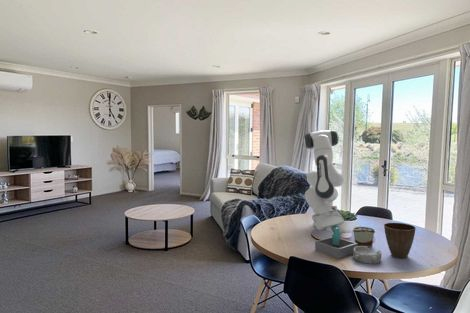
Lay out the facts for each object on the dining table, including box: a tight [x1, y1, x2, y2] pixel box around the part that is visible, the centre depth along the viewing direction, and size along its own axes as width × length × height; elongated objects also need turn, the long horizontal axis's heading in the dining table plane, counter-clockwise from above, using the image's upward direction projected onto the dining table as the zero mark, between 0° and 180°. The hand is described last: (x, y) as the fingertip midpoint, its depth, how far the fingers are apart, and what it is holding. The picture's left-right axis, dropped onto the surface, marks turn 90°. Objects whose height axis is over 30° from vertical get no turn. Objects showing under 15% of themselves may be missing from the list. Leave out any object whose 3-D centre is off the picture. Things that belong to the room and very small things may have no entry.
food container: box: [352, 226, 376, 248], centre depth 192 cm, size 12×6×10 cm, turn 84°
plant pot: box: [383, 222, 417, 259], centre depth 174 cm, size 15×15×16 cm
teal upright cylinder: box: [331, 226, 341, 246], centre depth 182 cm, size 4×4×9 cm
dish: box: [352, 246, 382, 265], centre depth 170 cm, size 14×14×5 cm
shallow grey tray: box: [314, 236, 358, 260], centre depth 182 cm, size 16×16×5 cm
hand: (337, 233), depth 181 cm, fingers closed on teal upright cylinder, 4 cm apart
